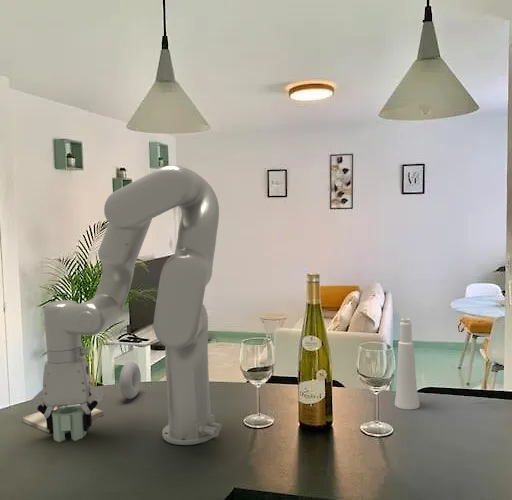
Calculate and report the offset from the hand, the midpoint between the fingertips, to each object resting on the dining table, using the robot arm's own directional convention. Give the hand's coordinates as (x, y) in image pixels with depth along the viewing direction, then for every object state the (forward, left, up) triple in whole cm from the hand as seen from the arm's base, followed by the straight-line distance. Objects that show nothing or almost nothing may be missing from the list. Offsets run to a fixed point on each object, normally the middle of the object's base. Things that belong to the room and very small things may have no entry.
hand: (69, 430), depth 123 cm
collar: (0, 0, -1) cm, 1 cm away
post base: (+11, -5, -1) cm, 12 cm away
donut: (+8, -24, -2) cm, 25 cm away
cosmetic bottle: (-57, -58, -2) cm, 81 cm away
